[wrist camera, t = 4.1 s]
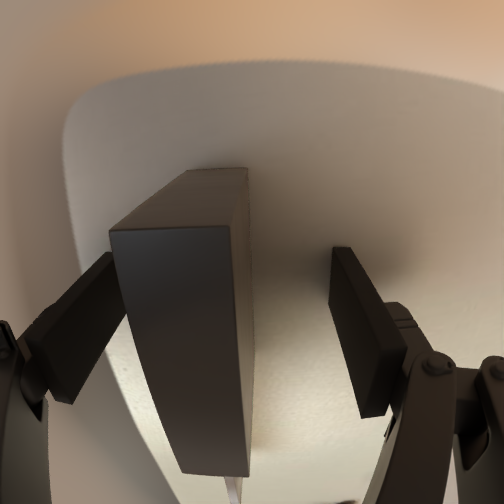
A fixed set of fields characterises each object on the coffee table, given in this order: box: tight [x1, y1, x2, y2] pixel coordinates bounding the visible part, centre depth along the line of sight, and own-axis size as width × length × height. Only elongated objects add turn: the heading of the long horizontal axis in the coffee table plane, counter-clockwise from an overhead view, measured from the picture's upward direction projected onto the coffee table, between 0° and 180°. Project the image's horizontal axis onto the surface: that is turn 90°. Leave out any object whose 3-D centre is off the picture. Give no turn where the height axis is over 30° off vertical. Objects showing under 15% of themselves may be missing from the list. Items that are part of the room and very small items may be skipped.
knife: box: [109, 168, 255, 504], centre depth 13 cm, size 18×2×7 cm, turn 2°
